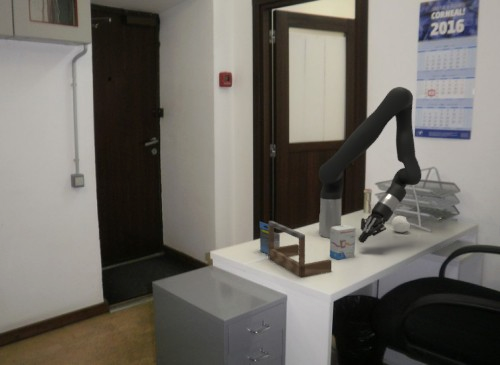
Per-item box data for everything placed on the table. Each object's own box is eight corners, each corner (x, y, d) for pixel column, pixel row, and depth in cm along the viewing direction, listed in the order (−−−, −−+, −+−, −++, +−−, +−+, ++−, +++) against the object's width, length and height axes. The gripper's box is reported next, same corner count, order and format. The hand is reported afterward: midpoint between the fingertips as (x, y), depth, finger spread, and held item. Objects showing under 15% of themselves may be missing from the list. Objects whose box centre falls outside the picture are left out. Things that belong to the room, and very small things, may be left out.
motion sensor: (412, 234, 207) (412, 217, 206) (396, 235, 206) (396, 218, 205) (404, 229, 215) (404, 213, 214) (388, 230, 214) (389, 214, 213)
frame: (268, 258, 176) (268, 221, 174) (296, 253, 182) (296, 217, 179) (301, 277, 156) (301, 235, 153) (331, 271, 161) (331, 230, 159)
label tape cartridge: (280, 254, 181) (280, 224, 179) (272, 256, 179) (272, 225, 177) (267, 249, 188) (267, 219, 186) (259, 250, 186) (259, 221, 184)
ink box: (337, 260, 173) (338, 229, 171) (329, 256, 177) (329, 226, 176) (355, 256, 177) (355, 226, 175) (346, 253, 181) (347, 224, 179)
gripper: (369, 198, 188) (344, 231, 185) (392, 204, 176) (366, 239, 173) (379, 210, 191) (355, 242, 188) (402, 216, 179) (377, 251, 176)
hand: (360, 241), depth 180 cm, fingers closed
